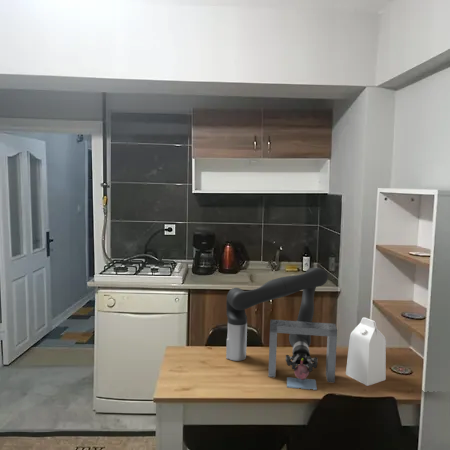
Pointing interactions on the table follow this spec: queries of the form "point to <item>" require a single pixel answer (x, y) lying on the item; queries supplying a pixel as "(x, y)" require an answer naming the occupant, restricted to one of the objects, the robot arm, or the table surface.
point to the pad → (301, 383)
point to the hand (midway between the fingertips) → (302, 369)
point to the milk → (367, 353)
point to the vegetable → (301, 371)
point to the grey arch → (304, 329)
